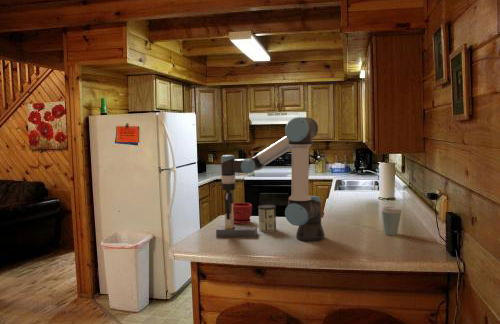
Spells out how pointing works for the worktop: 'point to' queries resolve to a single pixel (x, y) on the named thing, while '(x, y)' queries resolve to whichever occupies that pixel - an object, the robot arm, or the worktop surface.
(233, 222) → the brass peg
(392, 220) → the disposable coffee cup
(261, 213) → the coffee can
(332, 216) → the worktop surface
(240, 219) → the plant pot
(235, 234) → the grey flat block
